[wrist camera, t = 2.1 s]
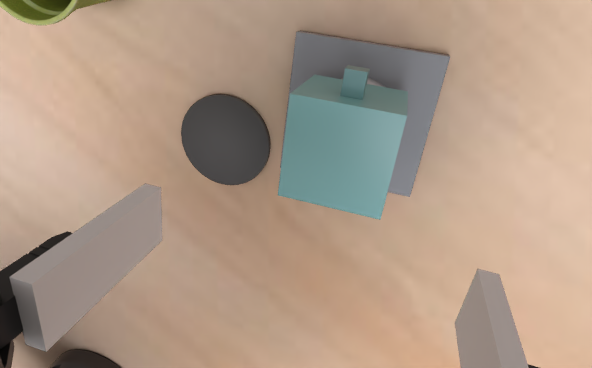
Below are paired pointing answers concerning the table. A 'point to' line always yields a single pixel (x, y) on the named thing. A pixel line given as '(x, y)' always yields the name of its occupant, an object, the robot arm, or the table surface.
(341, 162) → the teal cube with tab
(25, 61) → the table surface
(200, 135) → the coaster
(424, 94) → the square plate with peg
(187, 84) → the table surface
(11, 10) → the plant pot
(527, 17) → the table surface
